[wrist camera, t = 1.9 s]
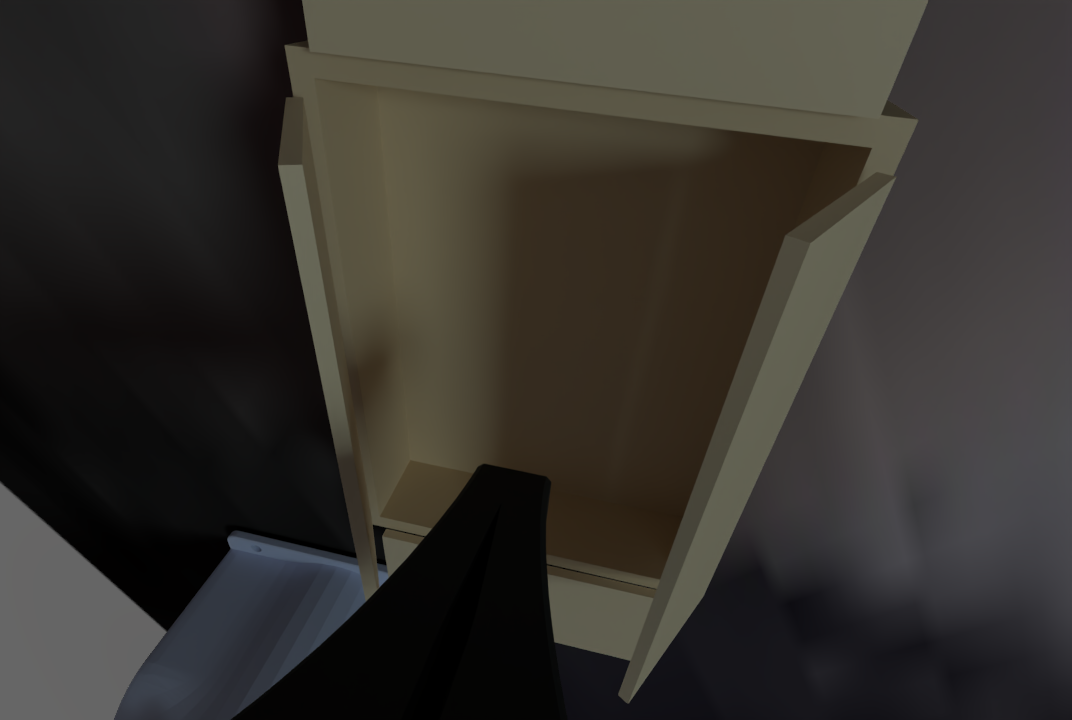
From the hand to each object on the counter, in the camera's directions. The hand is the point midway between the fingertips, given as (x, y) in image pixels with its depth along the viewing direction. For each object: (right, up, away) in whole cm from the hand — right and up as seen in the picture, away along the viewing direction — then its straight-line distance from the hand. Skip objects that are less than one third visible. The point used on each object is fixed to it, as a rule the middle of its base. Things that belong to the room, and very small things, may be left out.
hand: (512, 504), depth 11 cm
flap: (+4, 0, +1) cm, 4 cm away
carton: (+1, +4, +5) cm, 7 cm away
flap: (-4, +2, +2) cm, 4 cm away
